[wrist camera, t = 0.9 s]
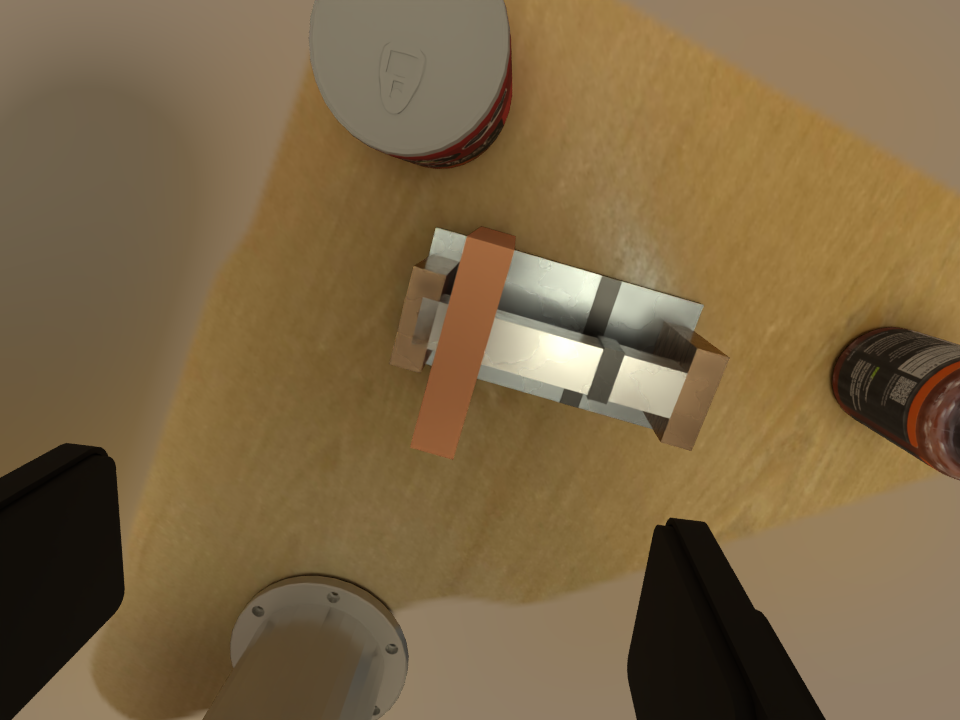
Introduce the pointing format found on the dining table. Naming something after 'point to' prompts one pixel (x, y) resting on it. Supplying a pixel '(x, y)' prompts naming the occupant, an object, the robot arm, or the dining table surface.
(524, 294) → the stand
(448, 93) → the canned food
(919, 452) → the supplement bottle
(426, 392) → the collar
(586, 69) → the dining table surface
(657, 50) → the dining table surface
